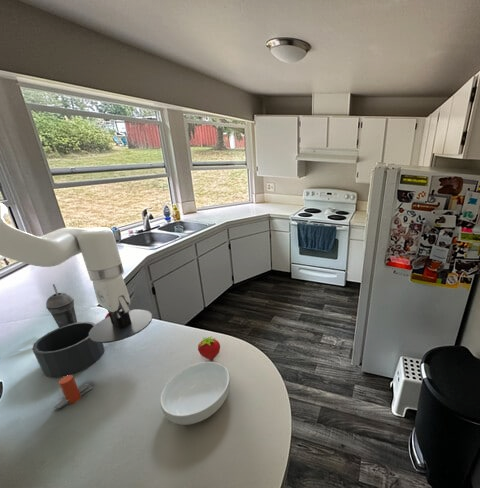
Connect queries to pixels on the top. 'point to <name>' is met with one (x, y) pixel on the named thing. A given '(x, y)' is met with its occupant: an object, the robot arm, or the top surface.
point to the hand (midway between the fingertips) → (121, 323)
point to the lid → (112, 333)
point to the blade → (71, 391)
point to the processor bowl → (67, 350)
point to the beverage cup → (61, 308)
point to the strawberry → (209, 348)
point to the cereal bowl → (195, 393)
